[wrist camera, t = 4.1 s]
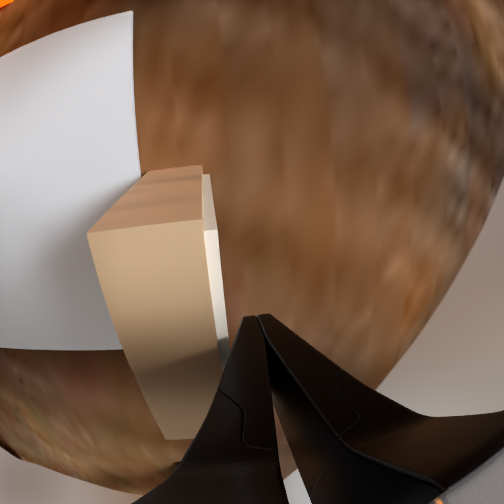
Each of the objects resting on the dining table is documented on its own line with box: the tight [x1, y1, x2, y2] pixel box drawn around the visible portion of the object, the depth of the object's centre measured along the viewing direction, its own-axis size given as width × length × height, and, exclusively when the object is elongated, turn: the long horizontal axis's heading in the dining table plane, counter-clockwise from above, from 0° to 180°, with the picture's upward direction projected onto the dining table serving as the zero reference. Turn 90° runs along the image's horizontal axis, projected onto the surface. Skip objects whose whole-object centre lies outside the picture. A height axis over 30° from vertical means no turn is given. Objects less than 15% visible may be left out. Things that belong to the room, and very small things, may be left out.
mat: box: [0, 11, 141, 350], centre depth 12 cm, size 18×16×1 cm
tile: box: [86, 165, 230, 440], centre depth 11 cm, size 8×3×8 cm, turn 2°
